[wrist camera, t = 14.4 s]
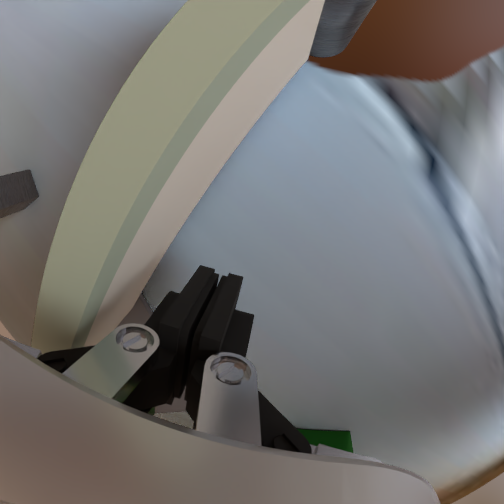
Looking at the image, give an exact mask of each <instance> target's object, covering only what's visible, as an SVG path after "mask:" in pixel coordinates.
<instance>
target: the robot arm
mask: <svg viewBox="0 0 504 504" xmlns="http://www.w3.org/2000/svg"><path fill="white" fill-rule="evenodd" d="M214 272H215V269H212V268H209V267H205V266H201V265H200V266H199V268H198V269H197V270H196V272H195V273H194V275H193V276H192V277H191V279H190V280H189V282H188V283H187V285H186V286H185V287H184V289H183V290H182V292H181V293H180V294H179V293H176V292H173V291H170V292H169V293H168V294H167V295H166V297H165V298H164V299H163V301H162V302H161V303H160V305H159V306H158V307H157V308H156V310H155V311H154V312H153V314H152V315H151V316H150V318H149V319H148V320H147V322H146V323H145V324H144V325H142V324H135V323H131V324H124V325H121V326H119V327H117V328H116V329H114V330H113V331H112V332H111V333H110V334H108V335H107V336H106V337H105V338H104V339H102V340H101V341H100V342H99V343H98V344H96V345H93V346H87V347H80V348H73V349H65V350H58V351H51V352H47V353H44V354H42V352H41V350H38V349H35V348H32V347H30V346H27V345H24V344H21V343H19V342H16V341H13V340H11V339H8V338H6V337H3V336H1V335H0V504H440V502H439V499H438V497H437V494H436V493H435V491H434V489H433V487H432V486H431V485H430V483H429V482H428V481H426V480H425V479H424V478H422V477H421V476H419V475H417V474H415V473H413V472H410V471H408V470H405V469H402V468H399V467H396V466H393V465H388V464H384V463H383V462H382V461H380V460H378V459H375V458H372V457H368V456H363V455H359V454H355V453H351V452H347V451H343V450H340V449H336V448H333V447H329V446H326V445H322V444H319V445H318V446H314V445H311V444H310V443H309V441H308V440H307V439H306V438H305V436H304V435H303V434H302V433H300V432H299V431H298V430H297V429H296V428H295V427H294V426H293V425H292V424H291V423H290V422H289V421H288V420H287V419H286V418H285V417H284V416H283V415H282V414H281V413H280V412H279V411H278V410H277V409H276V408H275V407H274V406H273V405H272V404H271V403H270V402H269V401H268V400H267V399H266V398H265V397H264V396H263V395H262V394H261V393H260V392H259V391H258V383H257V372H256V369H255V367H254V365H253V364H252V363H251V362H250V361H249V360H248V359H246V358H245V357H246V353H247V348H248V343H249V338H250V334H251V329H252V324H253V319H254V315H253V314H249V313H246V312H242V311H238V310H235V308H236V304H237V300H238V296H239V292H240V288H241V285H242V280H243V277H242V276H238V275H234V274H230V273H229V275H228V277H227V276H222V278H221V280H220V282H219V284H218V286H217V283H218V278H219V274H216V273H214ZM185 386H186V389H185ZM184 389H185V397H184V400H185V401H187V402H186V409H185V410H186V411H187V413H188V414H189V415H190V417H191V418H192V420H193V421H194V424H193V429H190V428H187V427H184V426H181V425H178V424H175V423H172V422H169V421H166V420H163V419H160V418H158V417H155V416H153V415H154V414H155V412H156V410H157V406H159V405H163V404H169V405H172V403H173V400H174V398H178V399H180V398H181V396H182V394H183V391H184Z"/></svg>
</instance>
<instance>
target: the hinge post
mask: <svg viewBox="0 0 504 504" xmlns="http://www.w3.org/2000/svg"><path fill="white" fill-rule="evenodd" d="M376 1H377V0H325V2H324V5H323V9H322V12H321V16H320V19H319V23H318V26H317V30H316V33H315V37H314V40H313V44H312V47H311V51H310V54H309V55H311V56H314V57H330V56H334V55H337V54H339V53H340V52H342V51H343V50H344V49H345V48H346V46H347V45H348V43H349V42H350V40H351V38H352V37H353V35H354V34H355V32H356V31H357V29H358V28H359V26H360V25H361V23H362V22H363V20H364V18H365V17H366V15H367V14H368V12H369V11H370V10H371V8H372V6H373V5H374V4H375V2H376Z"/></svg>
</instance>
